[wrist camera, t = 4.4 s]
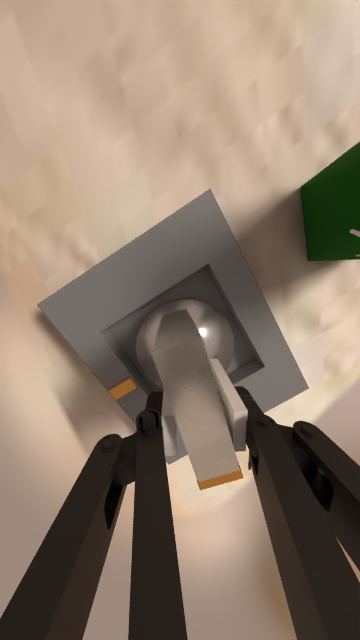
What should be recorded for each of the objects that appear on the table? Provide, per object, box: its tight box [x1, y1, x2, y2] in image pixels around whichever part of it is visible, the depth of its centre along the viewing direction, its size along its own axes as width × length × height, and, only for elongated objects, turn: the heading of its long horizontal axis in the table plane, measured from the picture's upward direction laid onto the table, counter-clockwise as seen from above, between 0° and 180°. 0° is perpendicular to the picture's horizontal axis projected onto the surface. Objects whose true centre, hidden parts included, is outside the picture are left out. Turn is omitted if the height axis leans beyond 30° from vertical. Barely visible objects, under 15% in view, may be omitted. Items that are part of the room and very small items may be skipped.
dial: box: [136, 298, 243, 490], centre depth 14 cm, size 10×10×10 cm
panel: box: [37, 189, 309, 464], centre depth 18 cm, size 22×18×3 cm
